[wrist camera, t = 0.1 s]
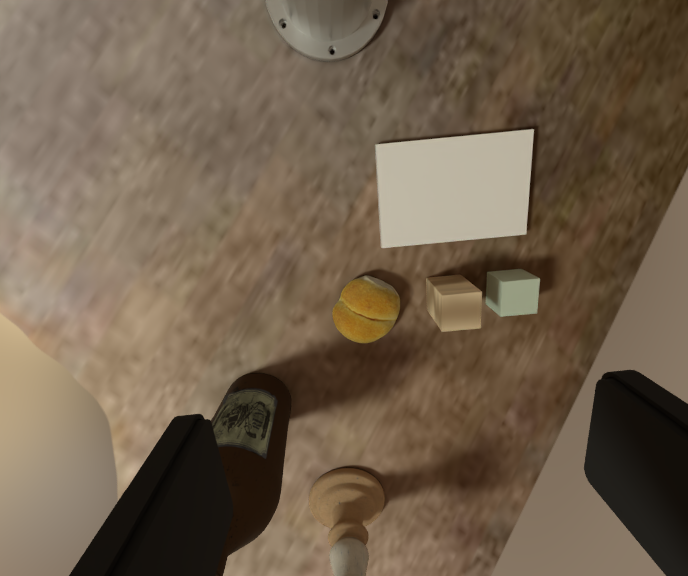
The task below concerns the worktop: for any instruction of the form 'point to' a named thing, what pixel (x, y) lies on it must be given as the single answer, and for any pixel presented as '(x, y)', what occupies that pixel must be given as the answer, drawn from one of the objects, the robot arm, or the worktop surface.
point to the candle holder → (347, 516)
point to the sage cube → (512, 292)
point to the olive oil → (252, 454)
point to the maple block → (454, 302)
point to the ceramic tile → (453, 188)
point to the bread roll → (366, 309)
